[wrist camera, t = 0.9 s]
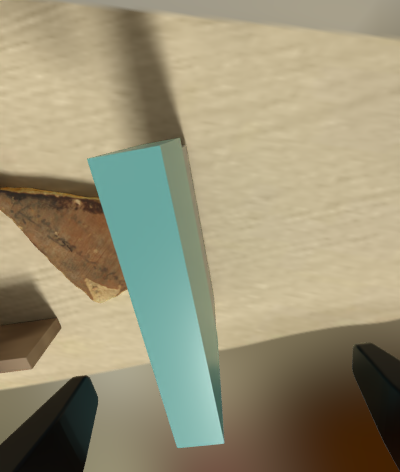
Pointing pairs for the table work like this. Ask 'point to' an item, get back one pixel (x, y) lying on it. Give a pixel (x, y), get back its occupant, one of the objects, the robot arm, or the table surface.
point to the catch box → (25, 343)
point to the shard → (69, 237)
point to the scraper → (166, 279)
